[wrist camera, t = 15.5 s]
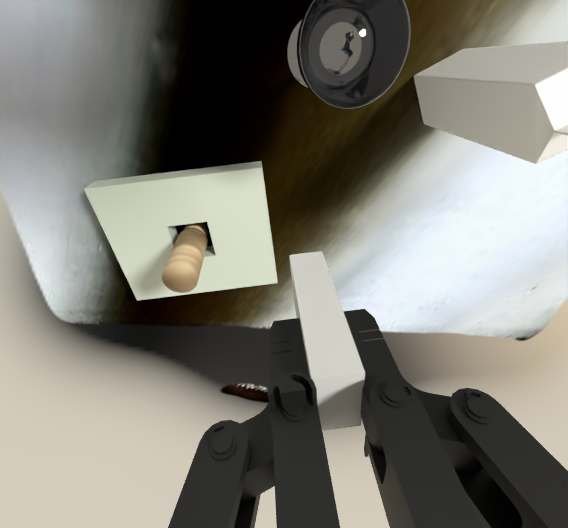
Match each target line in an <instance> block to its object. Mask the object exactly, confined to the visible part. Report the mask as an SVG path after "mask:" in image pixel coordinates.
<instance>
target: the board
mask: <svg viewBox="0 0 568 528" xmlns="http://www.w3.org/2000/svg"><path fill="white" fill-rule="evenodd" d="M84 190H85V193H86V195H87V197H88V199H89V201H90V203H91V205H92V207H93V209H94V211H95V213H96V216H97V218H98V220H99V222H100V224H101V226H102V228H103V230H104V232H105V234H106V236H107V239H108V241H109V243H110V245H111V247H112V249H113V251H114V253H115V255H116V257H117V259H118V262H119V264H120V266H121V268H122V270H123V272H124V274H125V276H126V278H127V280H128V282H129V285H130V287H131V289H132V291H133V293H134V295H135V297H136V299H137V300H145V299H153V298H161V297H169V296H177V295H185V294H193V293H201V292H209V291H217V290H225V289H233V288H241V287H249V286H257V285H265V284H273V283H277V273H276V266H275V258H274V251H273V243H272V236H271V229H270V221H269V214H268V206H267V199H266V192H265V184H264V177H263V169H262V162H261V161H258V162H250V163H241V164H233V165H225V166H216V167H208V168H200V169H191V170H183V171H175V172H166V173H158V174H150V175H141V176H133V177H125V178H116V179H108V180H100V181H94V182H93V183H91V184H90V185H89V186H87V187H86V188H84ZM201 222H207V224H208V228H209V231H210V235H211V239H212V243H213V246H208V247H206V251H205V255H204V259H203V263H202V267H201V271H200V275H199V279H198V283H197V286H196V287H195V288H194V289H193V290H191V291H189V292H185V293H179V292H174V291H172V290H170V289H169V288H167V287H166V286H165V285H164V283H163V281H162V273H163V271H164V268H165V266H166V264H167V261H168V259H169V257H170V254H171V252H172V250H173V248H174V245H175V243H176V241H177V238H178V234H177V231H176V228H175V226H177V225H185V224H193V223H201Z"/></svg>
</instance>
